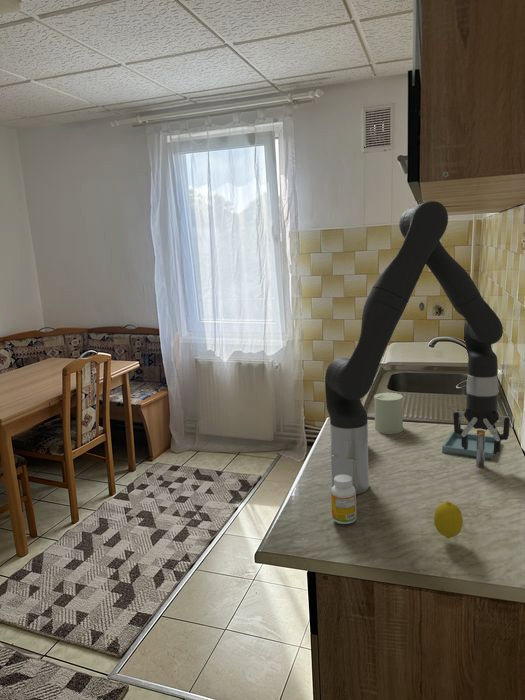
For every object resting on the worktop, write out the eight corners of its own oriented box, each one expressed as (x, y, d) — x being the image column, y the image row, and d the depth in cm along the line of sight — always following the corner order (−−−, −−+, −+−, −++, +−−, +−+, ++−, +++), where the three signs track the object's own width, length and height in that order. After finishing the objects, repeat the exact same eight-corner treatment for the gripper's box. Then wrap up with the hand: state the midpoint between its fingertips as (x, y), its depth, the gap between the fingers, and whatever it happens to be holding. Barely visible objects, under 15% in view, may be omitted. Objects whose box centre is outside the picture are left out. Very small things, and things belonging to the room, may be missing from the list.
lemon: (447, 527, 108) (447, 493, 107) (468, 540, 103) (469, 503, 102) (428, 535, 106) (428, 500, 104) (449, 548, 101) (449, 511, 99)
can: (371, 426, 172) (370, 392, 170) (398, 424, 173) (397, 390, 171) (378, 435, 163) (378, 399, 161) (407, 433, 164) (406, 397, 162)
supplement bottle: (335, 511, 118) (333, 471, 116) (358, 514, 116) (357, 474, 114) (329, 522, 113) (328, 482, 111) (353, 526, 111) (352, 484, 109)
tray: (491, 460, 140) (491, 453, 140) (442, 452, 147) (442, 446, 147) (498, 443, 151) (498, 437, 151) (452, 437, 158) (452, 431, 158)
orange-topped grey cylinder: (483, 468, 135) (484, 432, 134) (475, 467, 137) (476, 431, 135) (484, 465, 137) (485, 430, 135) (476, 464, 138) (477, 429, 136)
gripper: (450, 392, 134) (449, 452, 137) (510, 397, 126) (508, 460, 129) (456, 385, 140) (455, 442, 143) (514, 390, 132) (512, 450, 135)
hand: (480, 450), depth 136 cm, fingers open, 7 cm apart
